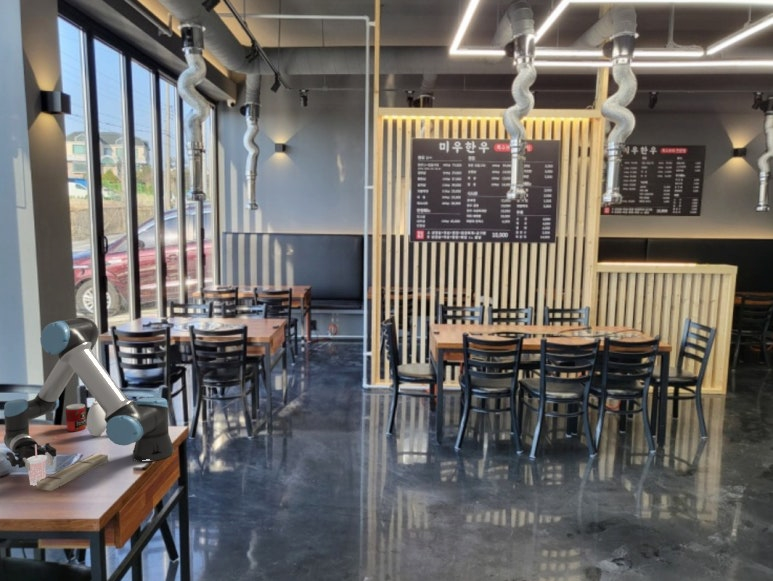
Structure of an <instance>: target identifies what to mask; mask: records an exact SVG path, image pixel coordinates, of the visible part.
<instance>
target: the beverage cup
mask: <svg viewBox="0 0 773 581" xmlns="http://www.w3.org/2000/svg"><path fill="white" fill-rule="evenodd" d="M46 459H47V456H46V455H37V445H36V444H35V456H32V457H30V458H28V459H27V460H28V461H29V462H30V470H29V471H27V472H28V478H29V485H30V486H31V485H33V486H35V485H36V486H37V482H38V481H40V480H42V479H44V478H46V477H47V474H46V465H47V464H46V463H47V461H46ZM33 486H32V487H33ZM36 486H35V487H36Z"/></svg>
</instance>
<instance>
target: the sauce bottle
mask: <svg viewBox="0 0 773 581" xmlns="http://www.w3.org/2000/svg"><path fill="white" fill-rule="evenodd" d="M89 407H90V408H89V409H88V412H87V415H86V428H87V430H88V433H89V434H90V435H92V436H93V437H100V436H102V434H103V433H104V432H106V430H107V429H106V425H107V423H106V421H105V420H104V419H105V412H104V411H103V409H102V408H101V407H100V405H99V404H98V402H97V401H96V400H95V399H94V401H93V402H92V404H91V405H90V406H89ZM99 435H100V436H99Z"/></svg>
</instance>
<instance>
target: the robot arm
mask: <svg viewBox="0 0 773 581" xmlns="http://www.w3.org/2000/svg"><path fill="white" fill-rule="evenodd" d="M40 335H41V336H40V345H41V347H42V349H43V351H45V352H46V353H47V354H49V355H56V356H57V357H58V360H57V362H56V363H55V365H54V366H53V369H52V370H51V371H50V373H49V375H48V377H47V379H45V381H44V383H43V385H42V386H41V388H40V389H39V391H38V392H37V394H36V396H35V397H34V399H30V400H27V399H24V398H17V399H12V400H8V401H6V402H5V404H4V411H3V415H4V426H5V434H4V437H3V443H4V445H5V446H6V448H8V449H9V450H10V451H11V452H10V451H7V452H6V453H5V456H6V461H8V462H9V463H10V465H11V467H12V468H14V467H16V466H18V469H21V468H24V469H25V470H26V471H27V472H28V471H29V470H30V462H29V461H28V460H27V459H28V458H30V457H33V456H35V444H36V445H37V455H46V456H47V459H46V463H48V464H49V465H51V466H53V465H54V458H55V457H57V449H56V448H55V447H53V446H52V445H50V442H48V443H45V444H43V445H40V444H38V442H37V441H36V440H35V439H34V438H33V437H32V436H31V435H30V429H29V427H30V422H29V421H32V420H34V419H38V418H39V417H42V416H44V415H48V414H51V413H53V412H55V410H57V409H58V408H59V407H60V400H59V398H60V396H61V394H62V393H63V391H64V390H65V388H66V386H68V383H69V382H70V380H71V378H72V377H73V375H74V374H76V375H77V377H78V379H79V380H80V381H81V382H82V384H84V386H85V387H86V389H87V390H88V392H89V393H90V394H91V396H92V397H93V398H94V401H95V400H96V401H97V402H98V404H99V405H100V407H101V408H102V409H103V411H104V412H105V419H104V420H105V421H106V423H107V425H106V429H105V433H106V434H105V435H106V436H107V437H108V439H109V440H110V442H112V443H113V444H116V445H118V446H124V447H125V446H128V445H132V444H134V443H135V444H134V447H133V449H132V450H133V451H132V458H133V460H134V459H135V461H136V460H137V462H142V460H146V459H150V460H153V461H152V462H156V461H160V460H163V459H166V458H169V457H171V456H172V455H173V454H174V452H175V447H174V444H173V442H172V439H171V437H170V434H169V406H168V400H167V399H166V398H164V397H153V396H152V397H143V398H138V399H136V401H135V400H133V399H128V398H127V397H126V396H125V394H124V393H123V391H122V390H121V389H120V388H119V386H118V385H117V383H116V382H115V381H114V378H112V377H111V376H110V374H109V372H108V371H107V369H106V368H105V367H104V365H103V364H102V363H101V361H100V360H99V359H98V357H97V356H96V355H95V354H94V352H93V351H92V350H93V349H94V347H95V346H96V343H97V342H98V338H99V335H100V334H99V328H98V326H97V325H96V323H95V321H93V320H92V319H90V318H88V317H82V316H81V317H74V318H70V319H65V320H57V321H54V322H50V323H48V324H47V325H45V327H44V328H43V329H42V331H41V333H40Z"/></svg>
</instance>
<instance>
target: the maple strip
mask: <svg viewBox="0 0 773 581" xmlns="http://www.w3.org/2000/svg"><path fill="white" fill-rule="evenodd" d="M107 461H108V462H109V457H108V454H102V453H101V454H100V453H93V454H91V455H89V456H87V457H85V458H82V459H81V460H79V461H77V462H75V463H73V464H70V465H69V466H66V467H65V468H63V469H61V470H60V469H59V471H56V472H54V473H52V474H50V475H48V476H45V478H44V479H42V480H40V481H38V482H37V485H36V489H37V490H42V491H50V492H51V491H53V490H56V489H57V488H60V487H62V486H63V485H65V484H66V483H69V482H71V481H73V480H75V479H77V478H78V477H81V476H83V475H84V474H86V473H89V472H90V471H92V470H94V469H96V468H98V467H100V466H102V465H104V464H106V463H108V462H107ZM105 462H106V463H105ZM103 463H104V464H103ZM59 486H60V487H59Z"/></svg>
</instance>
